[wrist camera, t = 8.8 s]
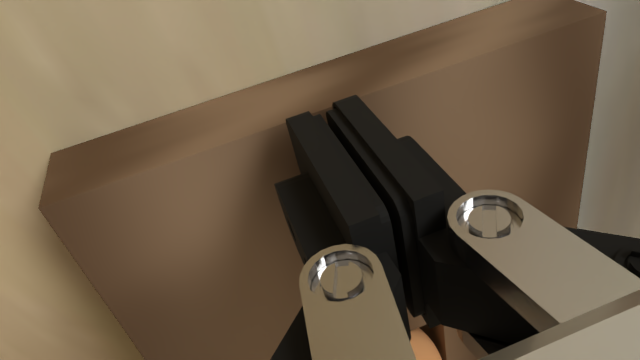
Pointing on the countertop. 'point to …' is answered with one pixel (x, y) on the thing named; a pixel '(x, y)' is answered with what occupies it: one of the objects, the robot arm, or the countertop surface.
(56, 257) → the countertop surface
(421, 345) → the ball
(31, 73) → the countertop surface
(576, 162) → the board
